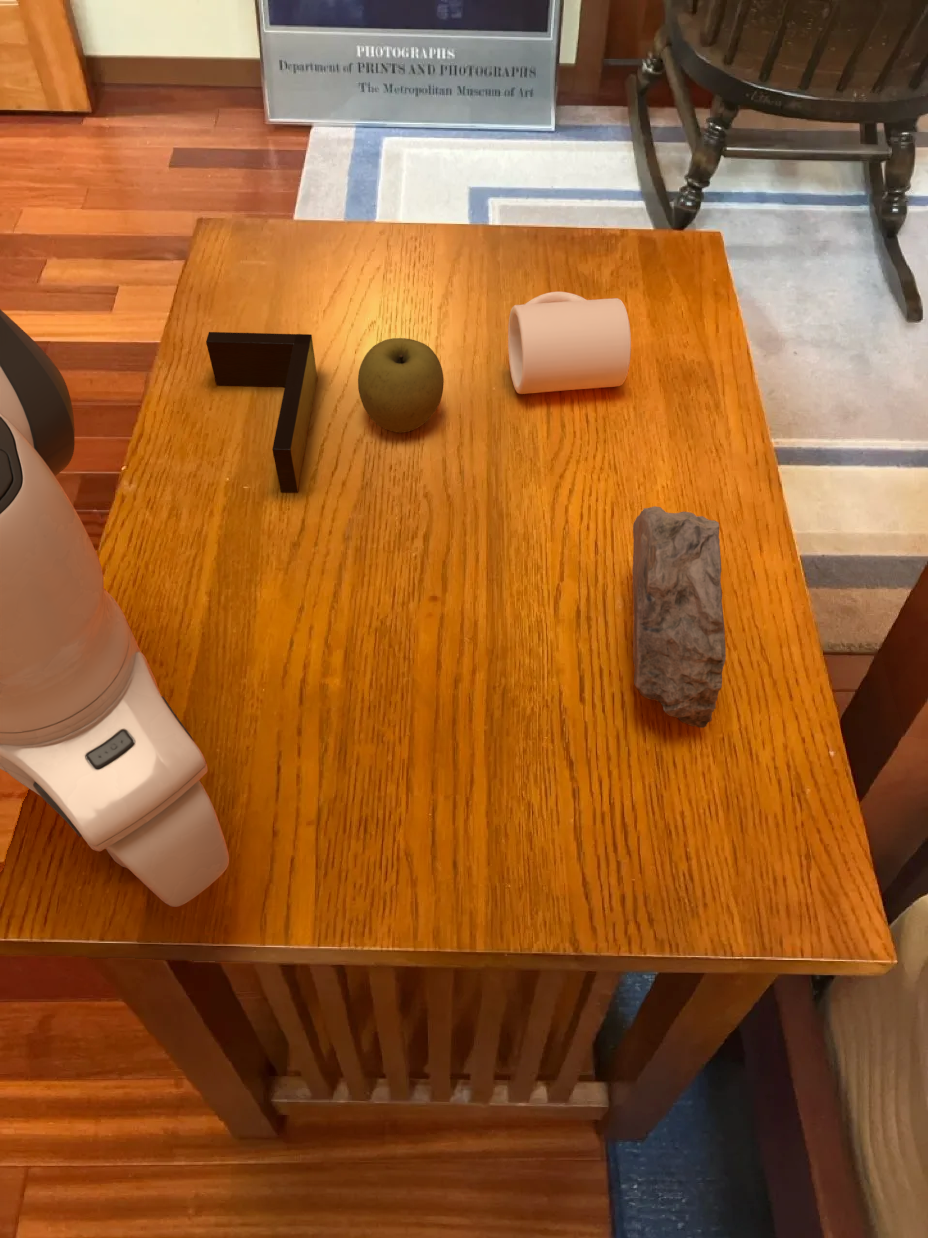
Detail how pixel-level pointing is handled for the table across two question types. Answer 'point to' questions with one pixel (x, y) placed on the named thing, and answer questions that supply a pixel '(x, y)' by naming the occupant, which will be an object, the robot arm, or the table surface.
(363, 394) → the apple
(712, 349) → the table surface
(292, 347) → the bracket
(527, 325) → the mug
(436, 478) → the table surface
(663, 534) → the decorative rock
